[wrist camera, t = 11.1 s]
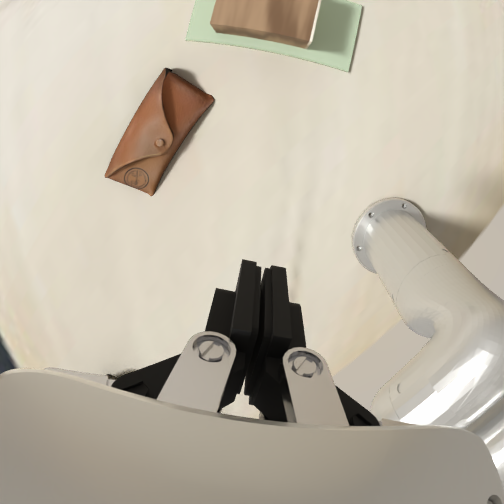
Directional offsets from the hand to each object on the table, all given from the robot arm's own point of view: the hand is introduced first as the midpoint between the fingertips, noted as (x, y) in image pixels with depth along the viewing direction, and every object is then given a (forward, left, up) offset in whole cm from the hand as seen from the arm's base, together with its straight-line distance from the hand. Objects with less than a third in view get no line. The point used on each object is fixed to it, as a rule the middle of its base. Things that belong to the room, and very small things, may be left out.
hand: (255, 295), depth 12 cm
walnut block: (+8, -19, -29) cm, 36 cm away
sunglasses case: (+14, +7, -33) cm, 36 cm away
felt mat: (+13, -16, -32) cm, 38 cm away
